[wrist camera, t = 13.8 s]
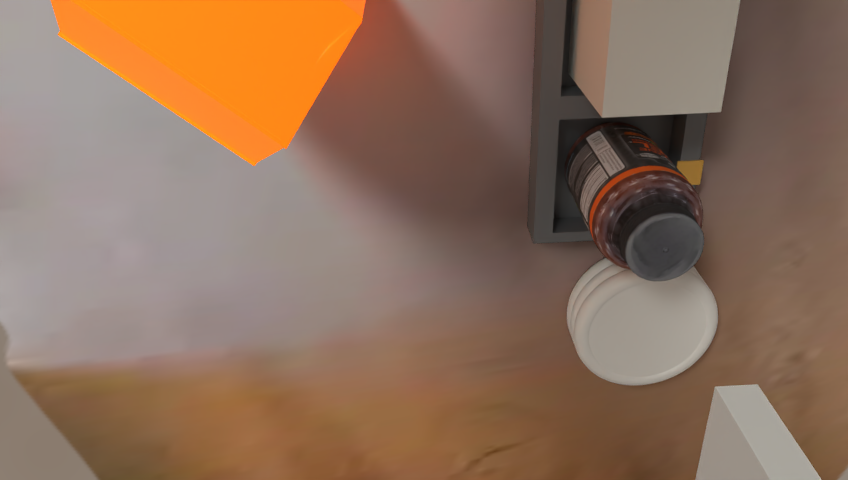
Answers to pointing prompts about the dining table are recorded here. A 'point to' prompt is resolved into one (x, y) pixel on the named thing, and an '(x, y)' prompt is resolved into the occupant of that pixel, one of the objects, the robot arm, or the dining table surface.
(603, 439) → the dining table surface
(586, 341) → the coaster
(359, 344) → the dining table surface
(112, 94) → the dining table surface
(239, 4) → the orange juice
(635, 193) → the supplement bottle
